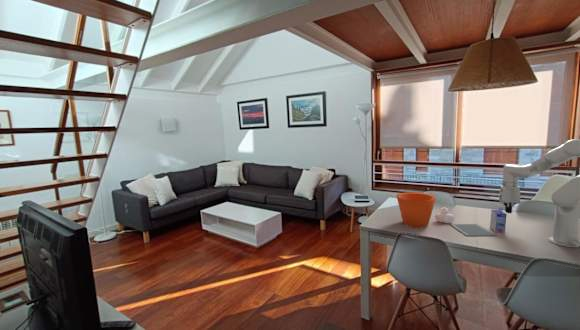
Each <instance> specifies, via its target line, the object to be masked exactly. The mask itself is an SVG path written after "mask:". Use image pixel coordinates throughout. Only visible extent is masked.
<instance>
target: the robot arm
mask: <svg viewBox="0 0 580 330" xmlns="http://www.w3.org/2000/svg"><path fill="white" fill-rule="evenodd" d="M575 158H580V138H574V139H569V140H567V141H566V142H564V143H563V144H561V145H560V146H558V147H555V148H554V149H551V150H550V151H548V152H546V153H545V154H544V155H543V156H541V157H540V158H538V159H537V160H534V161H533V162H532V161H531V162H530V163H528V164H526V165H525V164H524V165H517V164H509V163H508V164H504V166H503V170H502V182H500V190H499V194H498V195H499V197H498V199H499V204H501V205H503V206H504V211H505V212H504V213H506V214H512V211H513V207H514V206H516V205H517V204H520V203H521V190H520V186H519V178H520V179H529V178H532V177H535V176H537V175H540V174H541V173H544V172H546V171H549V170H550V169H552V168H555V167H558V166H560V165H562V164H564V163H566V162H569V161H571V160H573V159H575ZM551 201H552V203H553V204H554V205H555V209H554V219H553V221H554V222H553V233H552V236H550V237H549V238H548V241H549V242H551V243H552V244H554V245H558V246H562V247H568V248H580V247H579V246H580V238H579V236H578V233H579V224H580V223H579V221H580V174H578V175H576V176H574V177H572V178H571V179H570V180H569V181H567V182H565V183H564V184H563V185H562V186H561V187H559V188H558V189H556V190H555V191H554V192H553V193H552V195H551Z"/></svg>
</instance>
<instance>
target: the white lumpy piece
mask: <svg viewBox="0 0 580 330" xmlns="http://www.w3.org/2000/svg"><path fill="white" fill-rule="evenodd" d="M439 209H440V211H441V213H439V212H438V213H436V214H435V215H434V219H435V221H436V222H438V221H439V223H441V222H444V223H443V224H453V222H454V221H455V216H454V215H453V214H451V213H448V212H449V210H450V208H447V207H444V206H443V207H440V208H439Z"/></svg>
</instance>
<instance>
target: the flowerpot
mask: <svg viewBox="0 0 580 330" xmlns="http://www.w3.org/2000/svg"><path fill="white" fill-rule="evenodd" d="M396 199H397V203H398V206H399V211H400V212H399V213H400V215H401V219H402V224H403V223H404V224H406V225H408V226H407V227H409V226H412V227H411V228H415V227H423V228H426V227H425V226H427V225H428V226H429V223H430V220H431V216H432V212H433V209H434V206H435V203H436V200H437V196H436V195H433V194H430V193H426V192H425V193H424V192H417V191H415V192H414V191H413V192H412V191H411V192H409V191H408V192H407V191H406V192H401V193H397V194H396ZM404 224H403V225H404ZM406 225H405V226H406ZM428 226H427V227H428Z"/></svg>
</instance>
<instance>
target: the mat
mask: <svg viewBox="0 0 580 330" xmlns="http://www.w3.org/2000/svg"><path fill="white" fill-rule="evenodd" d="M450 225H451V226H450ZM449 226H450V227H452V226H453V227H454V228H453V227H452V228H453V229H455V230H456V229H457V230H456V231H458V232H459V231H460V232H459V233H461V234H463V235H464V236H465V237H498V234H497V233H495V232H492V231H491V230H489V229H487V228H486V227H484V226H482V225H480V224H478V223H470V224H469V223H461V224H458V223H457V224H456V223H454V224H453V223H449Z"/></svg>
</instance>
